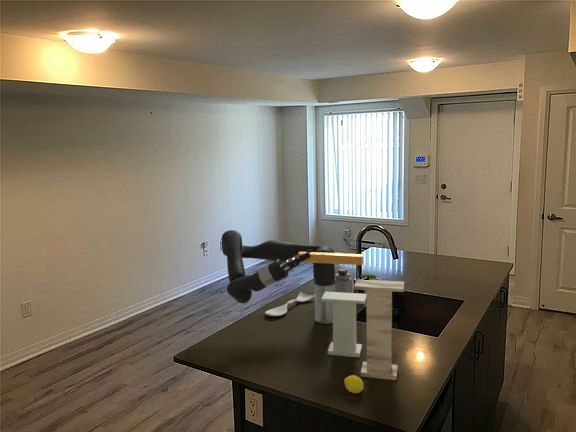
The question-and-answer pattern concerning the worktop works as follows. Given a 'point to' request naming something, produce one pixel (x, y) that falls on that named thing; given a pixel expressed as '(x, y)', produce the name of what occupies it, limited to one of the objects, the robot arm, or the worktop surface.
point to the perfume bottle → (343, 282)
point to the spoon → (283, 309)
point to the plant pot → (371, 277)
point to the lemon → (354, 384)
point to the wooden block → (334, 258)
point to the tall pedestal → (379, 327)
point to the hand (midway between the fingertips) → (310, 253)
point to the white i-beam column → (344, 323)
